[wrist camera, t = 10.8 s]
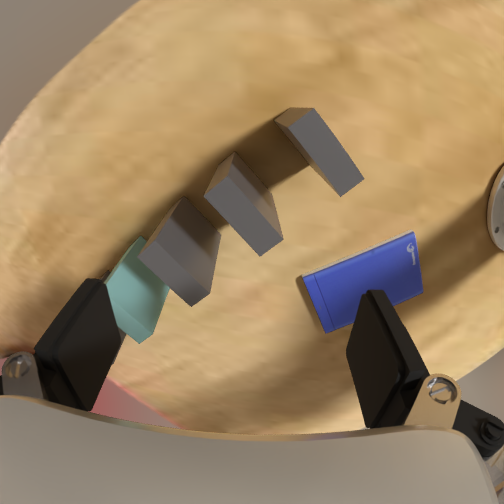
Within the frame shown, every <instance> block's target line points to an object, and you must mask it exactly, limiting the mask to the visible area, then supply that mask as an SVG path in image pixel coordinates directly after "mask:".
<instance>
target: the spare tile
mask: <svg viewBox="0 0 504 504" xmlns="http://www.w3.org/2000/svg"><path fill="white" fill-rule="evenodd" d="M146 243H147V241H146V240H145V239H144V238H143V237H142V236H140V237H139V238H138V239H137V240H136V241H135V242H134V243H133V244H132V245H131V246H130V247H129V248H128V250H127V251H126V252H125V254H124V255H123V256H122V258H121V259H120V261H119V262H118V263H117V265H116V266H115V268H114V269H113V270H112V272H111V273H110V275H109V276H108V278H107V279H106V280H105V282H104V284H106V286H107V289H108V293H109V297H110V301H111V305H112V308H113V312H114V316H115V319H116V323H117V326H118V327H119V328H120V329H122V330H123V331H124V332H125V333H126V334H128V335H129V336H130V337H131V338H133V339H134V340H135V341H136V342H138V343H139V344H140V343H141V342H143V341H144V340H145V339H147V338H148V337H150V336H151V335H152V334H153V332H154V329H155V327H156V324H157V321H158V318H159V316H160V313H161V310H162V307H163V305H164V302H165V299H166V297H167V294H168V291H169V289H170V288H169V287H168V286H167V285H166V284H165V283H164V282H163V281H162V280H161V279H160V278H159V277H158V276H156V275H155V274H154V273H153V272H152V271H151V270H150V269H149V268H148V267H147V266H146V265H145V264H144V263H143V262H142V261H141V260H140V259H139V258H137V256H138V255H139V253H140V252H141V250H142V248H143V247H144V245H145V244H146Z"/></svg>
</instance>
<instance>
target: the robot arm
mask: <svg viewBox="0 0 504 504" xmlns="http://www.w3.org/2000/svg"><path fill="white" fill-rule="evenodd" d="M487 223H488V230H489V234H490V237H491V239H492V241H493V242H494V243H495V245H496V246H497V247H499V248H500V249H501V250H503V251H504V166H503V167H502V169H501V170H500V172H499V173H498V175H497V177H496V179H495V181H494V184H493V187H492V190H491V193H490V197H489V202H488V210H487ZM120 345H121V336H120V333H119V330H118V326H117V323H116V319H115V316H114V312H113V308H112V305H111V301H110V297H109V293H108V289H107V286H106V284H104V283H103V282H102V280H100V279H90V278H88V279H86V280H85V281H84V282H83V283H82V284H81V286H80V287H79V288H78V289H77V291H76V292H75V293H74V295H73V296H72V297H71V298H70V300H69V301H68V302H67V303H66V305H65V306H64V307H63V309H62V310H61V311H60V313H59V314H58V315H57V317H56V318H55V319H54V321H53V322H52V323H51V325H50V326H49V328H48V329H47V330H46V332H45V333H44V335H43V336H42V337H41V339H40V340H39V342H38V343H37V344H36V346H35V347H34V350H35V354H34V355H32V354H31V353H28V352H18V353H15V354H13V355H11V356H10V357H9V358H7V360H6V361H5V362H4V364H3V366H2V375H1V376H0V504H504V423H503V422H502V421H501V420H500V419H498V418H497V417H495V416H493V415H491V414H489V413H486V412H485V411H483V410H481V409H479V408H477V407H475V406H473V405H471V404H469V403H467V402H464V401H463V400H461V390H460V387H459V385H458V384H457V382H456V381H455V380H454V379H452V378H451V377H449V376H447V375H444V374H432V375H430V374H429V372H428V370H427V368H426V366H425V364H424V362H423V360H422V358H421V356H420V354H419V352H418V350H417V348H416V346H415V344H414V342H413V340H412V339H411V337H410V335H409V333H408V331H407V329H406V327H405V326H404V325H403V324H402V322H401V320H400V318H399V316H398V314H397V313H396V311H395V309H394V307H393V306H392V304H391V302H390V300H389V299H388V297H387V295H386V293H385V292H384V290H367V292H366V294H362V296H361V299H360V303H359V306H358V310H357V314H356V317H355V321H354V325H353V328H352V331H351V335H350V338H349V342H348V345H347V349H346V356H347V360H348V363H349V367H350V370H351V374H352V377H353V381H354V384H355V388H356V392H357V395H358V399H359V403H360V406H361V410H362V414H363V418H364V422H365V425H366V427H367V428H370V429H365V430H355V431H344V432H331V433H316V434H291V435H258V434H231V433H215V432H204V431H193V430H184V429H176V428H169V427H162V426H155V425H149V424H142V423H137V422H132V421H127V420H122V419H117V418H112V417H107V416H103V415H99V414H95V413H91V412H88V411H91V410H92V408H93V406H94V403H95V401H96V399H97V396H98V394H99V392H100V390H101V387H102V385H103V383H104V380H105V378H106V376H107V374H108V371H109V369H110V367H111V365H112V363H113V360H114V358H115V356H116V354H117V352H118V350H119V348H120Z"/></svg>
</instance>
